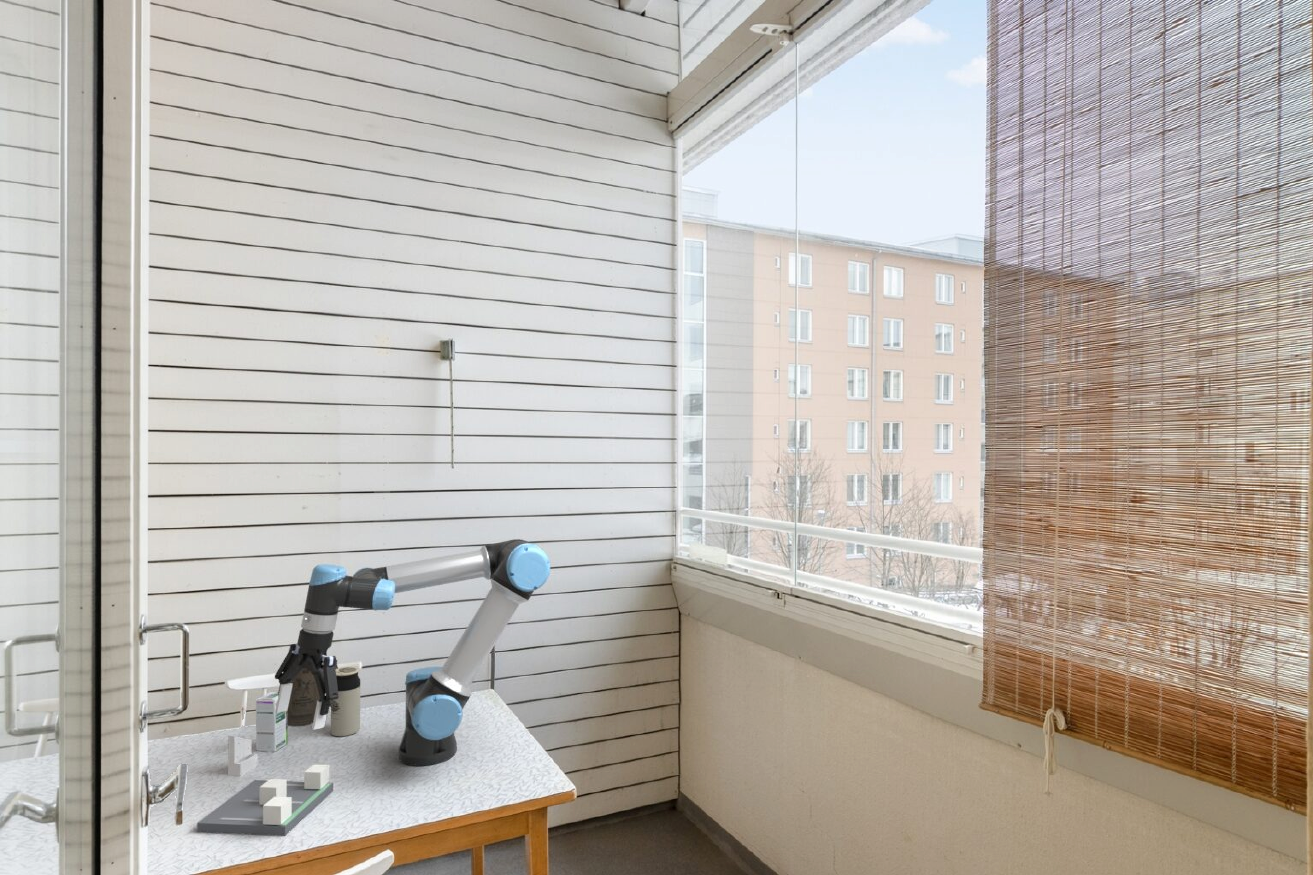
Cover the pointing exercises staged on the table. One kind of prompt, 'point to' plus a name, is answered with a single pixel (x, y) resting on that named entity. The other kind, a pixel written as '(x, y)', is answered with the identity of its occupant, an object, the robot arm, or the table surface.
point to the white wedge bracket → (240, 756)
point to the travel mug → (346, 703)
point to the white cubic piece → (316, 777)
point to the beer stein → (303, 699)
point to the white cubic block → (272, 790)
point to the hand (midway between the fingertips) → (299, 719)
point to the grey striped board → (261, 810)
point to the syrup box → (270, 724)
